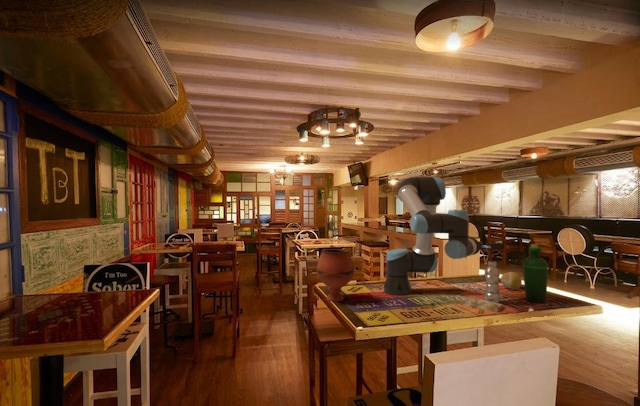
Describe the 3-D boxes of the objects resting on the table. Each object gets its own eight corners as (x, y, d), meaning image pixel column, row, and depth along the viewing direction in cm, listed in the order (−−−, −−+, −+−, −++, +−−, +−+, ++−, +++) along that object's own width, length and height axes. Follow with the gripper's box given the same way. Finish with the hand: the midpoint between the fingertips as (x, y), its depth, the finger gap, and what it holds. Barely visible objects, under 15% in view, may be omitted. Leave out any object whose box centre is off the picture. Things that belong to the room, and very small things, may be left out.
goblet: (362, 300, 157) (361, 251, 157) (329, 307, 147) (329, 253, 148) (340, 292, 173) (340, 247, 174) (310, 297, 164) (309, 249, 164)
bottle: (546, 299, 159) (545, 244, 160) (551, 304, 150) (550, 246, 150) (521, 296, 164) (520, 243, 164) (524, 302, 154) (524, 245, 155)
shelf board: (460, 304, 151) (460, 297, 151) (467, 300, 157) (467, 293, 157) (496, 312, 139) (496, 304, 139) (503, 307, 146) (503, 300, 146)
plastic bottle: (502, 305, 150) (502, 263, 150) (487, 304, 151) (486, 262, 151) (497, 301, 156) (497, 260, 156) (483, 300, 157) (482, 260, 158)
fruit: (512, 286, 185) (511, 269, 185) (526, 291, 174) (526, 273, 174) (496, 287, 183) (496, 270, 184) (509, 292, 173) (509, 274, 173)
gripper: (439, 252, 141) (458, 248, 156) (500, 258, 123) (515, 253, 138) (439, 236, 141) (458, 233, 156) (500, 239, 124) (515, 236, 139)
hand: (485, 243), depth 147 cm, fingers open, 13 cm apart
